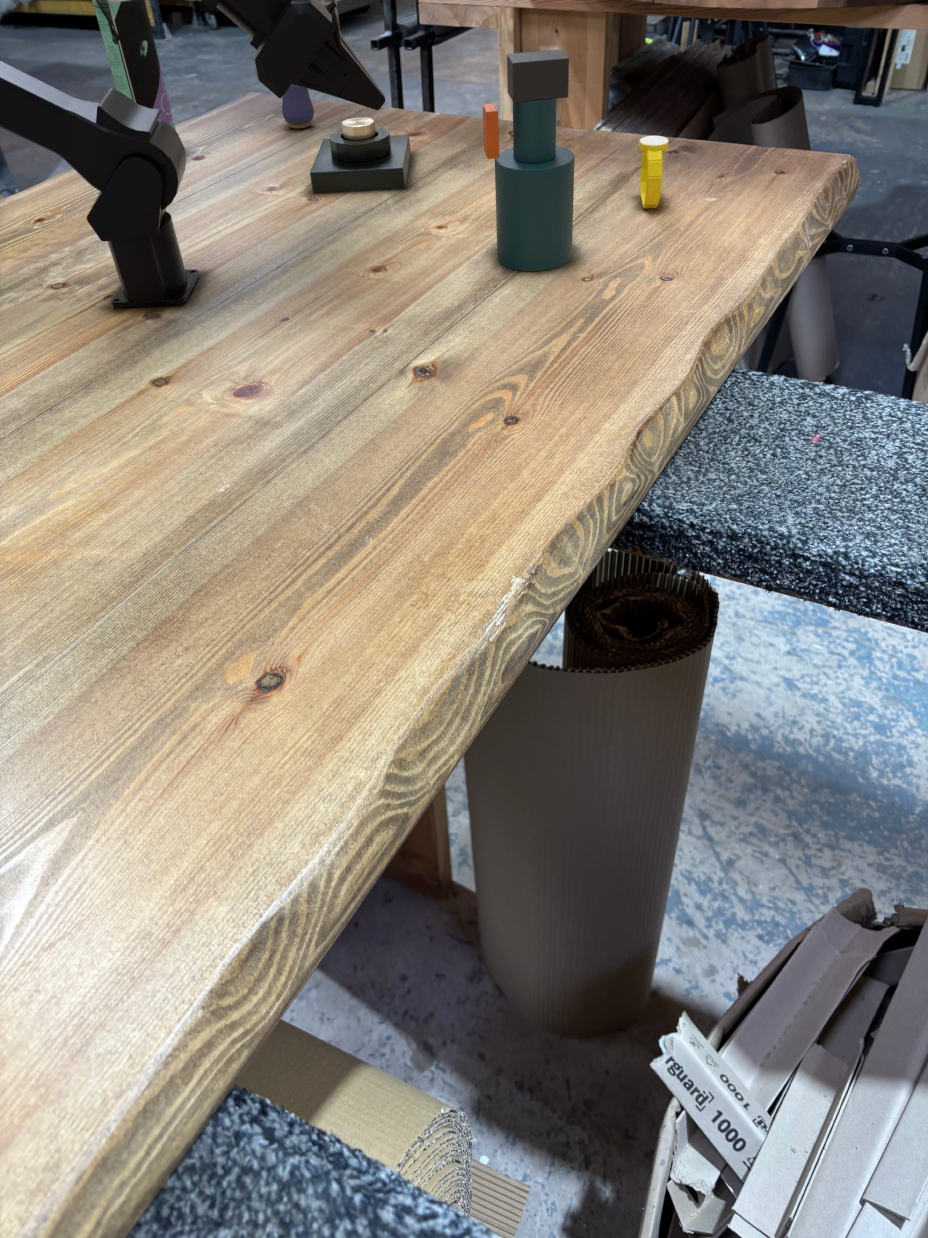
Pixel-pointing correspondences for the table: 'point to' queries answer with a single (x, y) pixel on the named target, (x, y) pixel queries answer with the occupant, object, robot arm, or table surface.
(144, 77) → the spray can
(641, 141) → the watch
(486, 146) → the block
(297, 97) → the purple vase
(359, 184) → the switch block
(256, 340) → the table surface
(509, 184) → the spray bottle
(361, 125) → the button
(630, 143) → the table surface
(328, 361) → the table surface
